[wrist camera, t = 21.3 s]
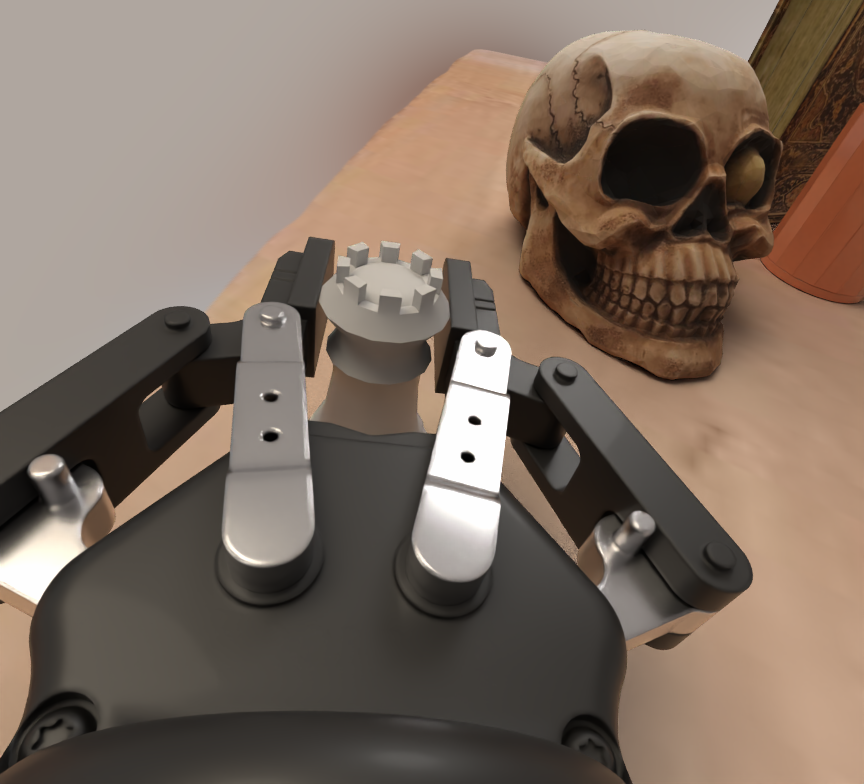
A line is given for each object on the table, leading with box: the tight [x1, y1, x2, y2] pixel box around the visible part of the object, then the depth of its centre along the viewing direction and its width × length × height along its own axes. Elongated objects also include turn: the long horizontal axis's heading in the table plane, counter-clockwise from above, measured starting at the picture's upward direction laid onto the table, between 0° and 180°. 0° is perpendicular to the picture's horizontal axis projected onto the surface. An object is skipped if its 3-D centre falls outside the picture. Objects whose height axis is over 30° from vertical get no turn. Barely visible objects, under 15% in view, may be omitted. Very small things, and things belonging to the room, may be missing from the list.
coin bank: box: [506, 30, 783, 380], centre depth 29 cm, size 16×17×13 cm
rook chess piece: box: [309, 241, 450, 435], centre depth 15 cm, size 4×4×8 cm
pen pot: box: [760, 102, 864, 303], centre depth 35 cm, size 7×7×10 cm
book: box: [748, 0, 864, 223], centre depth 39 cm, size 16×6×25 cm, turn 116°
